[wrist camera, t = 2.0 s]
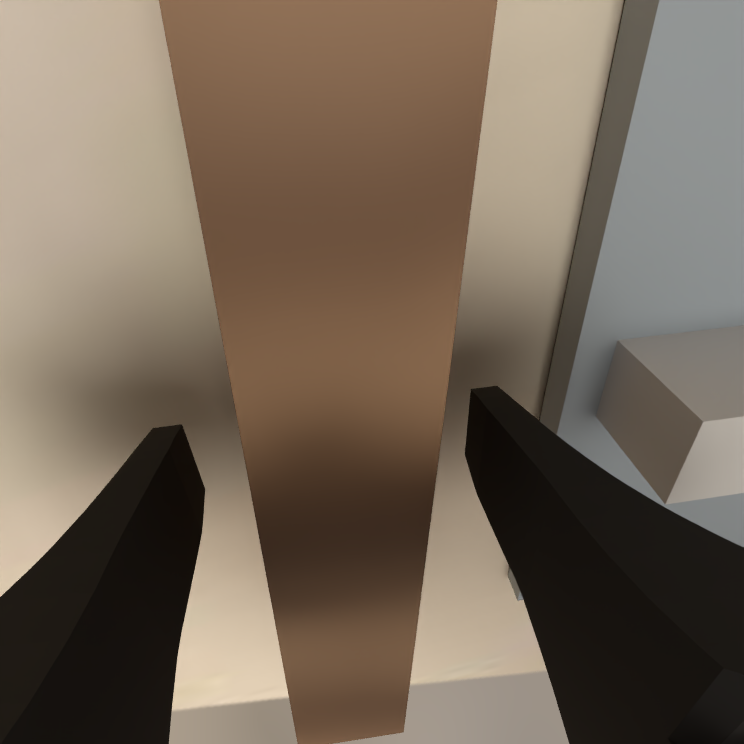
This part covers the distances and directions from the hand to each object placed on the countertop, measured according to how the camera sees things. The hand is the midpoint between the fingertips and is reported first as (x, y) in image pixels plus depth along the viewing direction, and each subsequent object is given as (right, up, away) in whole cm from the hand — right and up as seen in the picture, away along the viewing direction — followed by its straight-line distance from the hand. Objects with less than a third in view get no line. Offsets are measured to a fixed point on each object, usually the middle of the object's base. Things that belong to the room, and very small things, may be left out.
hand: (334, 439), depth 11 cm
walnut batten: (0, +1, +2) cm, 2 cm away
